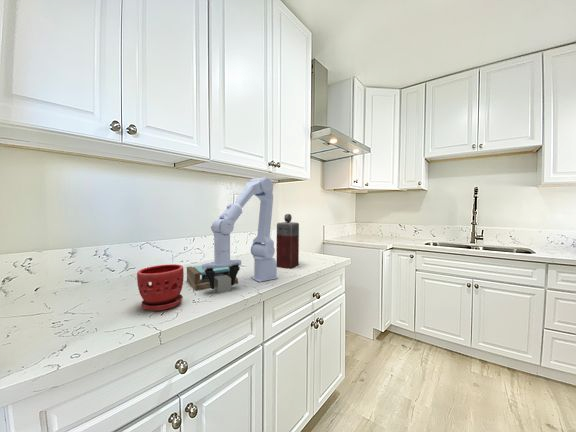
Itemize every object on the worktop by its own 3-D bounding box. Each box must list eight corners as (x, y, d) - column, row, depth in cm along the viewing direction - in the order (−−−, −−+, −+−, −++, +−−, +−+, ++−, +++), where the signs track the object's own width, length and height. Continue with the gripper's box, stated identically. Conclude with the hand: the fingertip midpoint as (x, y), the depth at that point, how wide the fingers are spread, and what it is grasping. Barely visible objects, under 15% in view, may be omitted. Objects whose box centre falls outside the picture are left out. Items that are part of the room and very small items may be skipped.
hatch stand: (225, 275, 113) (225, 262, 113) (237, 283, 101) (237, 268, 101) (186, 281, 104) (186, 266, 104) (195, 290, 92) (195, 274, 92)
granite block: (226, 287, 96) (226, 274, 96) (231, 291, 92) (231, 277, 92) (213, 289, 93) (213, 276, 93) (218, 293, 89) (217, 280, 89)
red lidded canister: (280, 263, 139) (281, 213, 138) (298, 265, 134) (299, 214, 133) (272, 266, 131) (272, 213, 130) (291, 268, 126) (291, 214, 125)
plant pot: (184, 295, 87) (184, 262, 86) (182, 310, 74) (182, 271, 74) (142, 300, 82) (142, 264, 82) (132, 316, 70) (132, 275, 69)
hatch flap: (220, 270, 112) (220, 262, 111) (230, 276, 102) (230, 268, 102) (192, 274, 105) (192, 266, 105) (200, 281, 95) (200, 272, 95)
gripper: (236, 247, 100) (236, 280, 100) (199, 250, 91) (199, 287, 92) (243, 250, 94) (243, 285, 94) (205, 253, 85) (205, 292, 86)
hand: (222, 286), depth 93 cm, fingers open, 7 cm apart
